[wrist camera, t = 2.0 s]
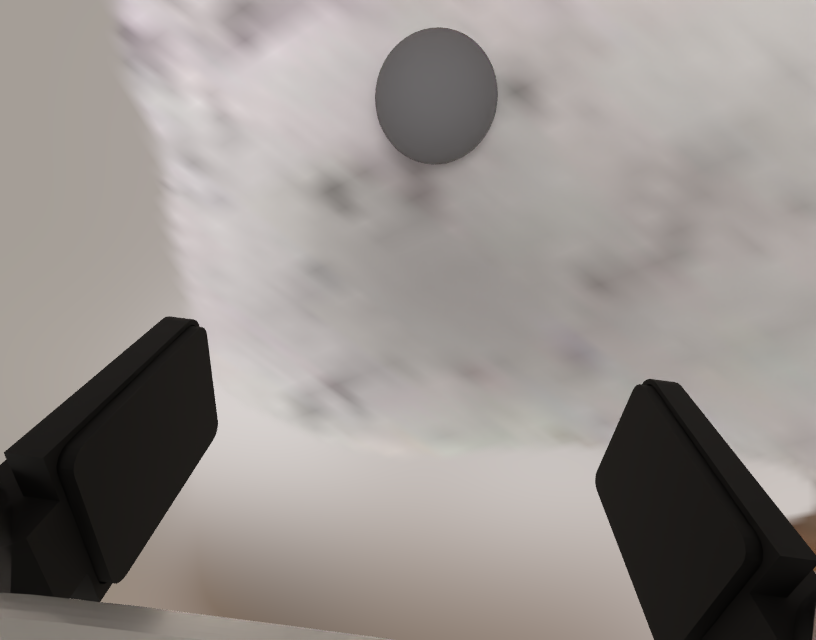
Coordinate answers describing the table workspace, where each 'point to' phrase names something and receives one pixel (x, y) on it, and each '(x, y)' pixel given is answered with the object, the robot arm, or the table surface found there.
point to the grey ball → (436, 95)
